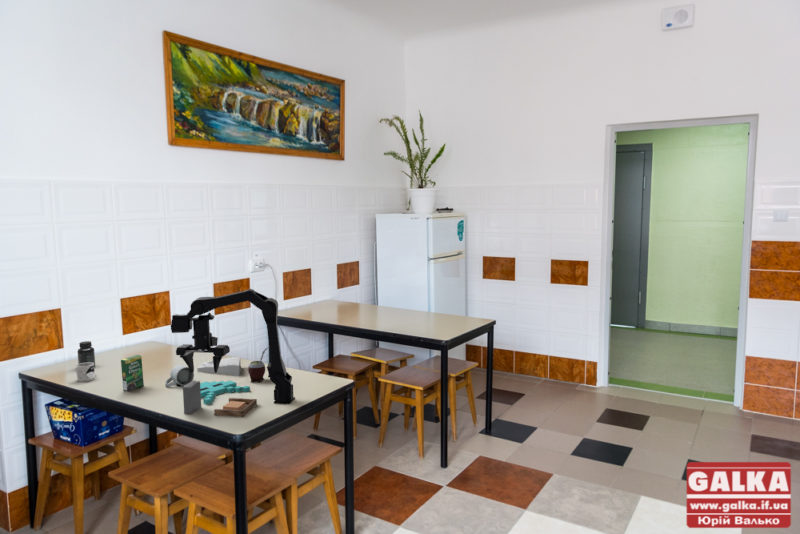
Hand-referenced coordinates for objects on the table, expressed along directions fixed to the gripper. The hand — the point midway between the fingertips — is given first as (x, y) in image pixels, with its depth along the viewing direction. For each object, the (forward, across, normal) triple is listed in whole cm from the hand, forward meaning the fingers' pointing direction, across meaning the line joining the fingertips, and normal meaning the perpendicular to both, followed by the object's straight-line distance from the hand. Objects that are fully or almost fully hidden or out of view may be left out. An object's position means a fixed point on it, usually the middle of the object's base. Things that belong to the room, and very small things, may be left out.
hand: (204, 372), depth 220 cm
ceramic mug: (+13, +23, -22) cm, 35 cm away
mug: (+12, +67, -25) cm, 72 cm away
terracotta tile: (+13, -12, +2) cm, 18 cm away
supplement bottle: (+12, +77, -40) cm, 88 cm away
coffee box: (+12, +39, -15) cm, 43 cm away
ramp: (+13, +14, -43) cm, 47 cm away
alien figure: (+13, +4, -14) cm, 20 cm away
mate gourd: (+13, -8, -31) cm, 35 cm away
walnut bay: (+13, -13, +3) cm, 18 cm away
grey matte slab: (+13, +2, +6) cm, 14 cm away
